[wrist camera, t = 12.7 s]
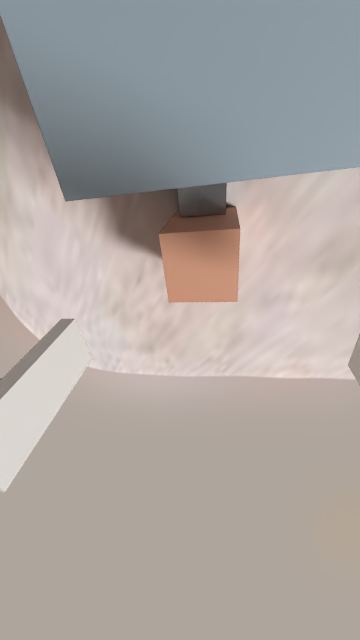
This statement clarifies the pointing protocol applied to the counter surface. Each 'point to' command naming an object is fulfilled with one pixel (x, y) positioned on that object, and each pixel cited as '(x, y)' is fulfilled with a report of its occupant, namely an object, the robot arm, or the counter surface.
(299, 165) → the blue toy stool
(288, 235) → the counter surface
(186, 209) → the steel bar
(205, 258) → the block
